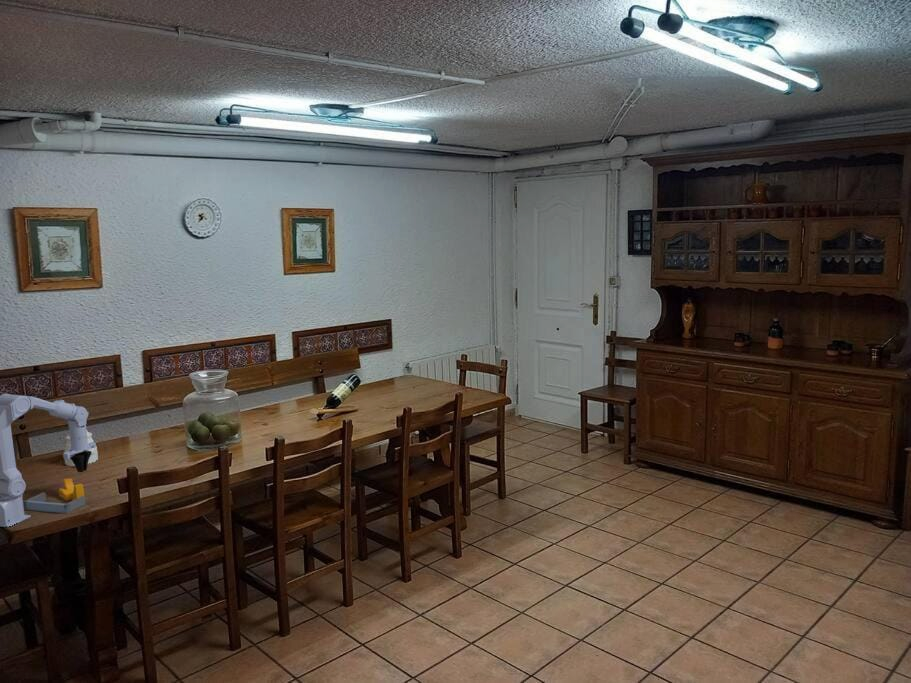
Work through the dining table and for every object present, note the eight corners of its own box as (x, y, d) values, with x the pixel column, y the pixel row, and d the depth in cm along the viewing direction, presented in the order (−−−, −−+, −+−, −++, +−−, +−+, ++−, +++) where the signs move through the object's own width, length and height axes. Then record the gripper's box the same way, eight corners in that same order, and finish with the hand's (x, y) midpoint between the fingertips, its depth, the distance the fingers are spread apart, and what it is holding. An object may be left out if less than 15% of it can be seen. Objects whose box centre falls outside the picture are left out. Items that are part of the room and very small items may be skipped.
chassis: (67, 513, 249) (66, 505, 249) (24, 509, 253) (23, 501, 253) (85, 503, 258) (84, 496, 257) (43, 500, 262) (42, 492, 261)
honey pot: (84, 466, 299) (79, 426, 296) (58, 465, 301) (53, 424, 298) (104, 457, 311) (100, 417, 308) (79, 455, 314) (75, 416, 311)
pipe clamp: (59, 497, 265) (57, 480, 264) (71, 493, 269) (70, 477, 268) (72, 504, 258) (70, 488, 257) (84, 501, 261) (83, 484, 260)
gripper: (73, 443, 258) (76, 478, 260) (101, 431, 272) (104, 465, 274) (56, 442, 260) (60, 477, 262) (85, 431, 273) (89, 464, 276)
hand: (82, 471), depth 268 cm, fingers closed
